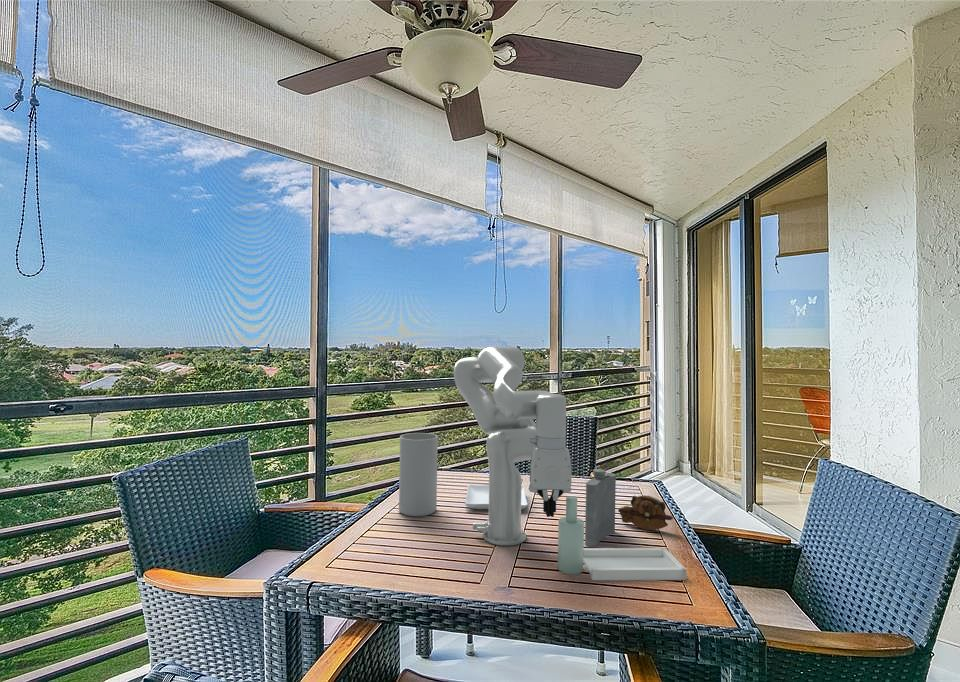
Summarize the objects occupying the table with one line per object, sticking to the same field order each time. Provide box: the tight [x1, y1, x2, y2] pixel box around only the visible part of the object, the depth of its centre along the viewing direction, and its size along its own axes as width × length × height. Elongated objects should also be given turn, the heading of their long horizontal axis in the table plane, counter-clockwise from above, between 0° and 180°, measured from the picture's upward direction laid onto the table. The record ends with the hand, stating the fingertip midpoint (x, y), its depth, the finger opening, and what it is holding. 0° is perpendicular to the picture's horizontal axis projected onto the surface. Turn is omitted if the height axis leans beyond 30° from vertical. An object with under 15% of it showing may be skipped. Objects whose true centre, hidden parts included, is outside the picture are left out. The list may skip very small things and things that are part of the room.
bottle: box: [557, 495, 585, 575], centre depth 130 cm, size 6×6×18 cm
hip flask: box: [584, 468, 617, 548], centre depth 150 cm, size 16×4×20 cm, turn 142°
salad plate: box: [464, 484, 529, 511], centre depth 181 cm, size 21×21×3 cm
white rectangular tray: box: [583, 547, 688, 581], centre depth 130 cm, size 23×13×2 cm, turn 93°
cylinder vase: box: [398, 432, 439, 518], centre depth 171 cm, size 12×12×25 cm
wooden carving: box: [618, 495, 674, 531], centre depth 158 cm, size 16×5×10 cm, turn 64°
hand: (549, 514), depth 129 cm, fingers closed
